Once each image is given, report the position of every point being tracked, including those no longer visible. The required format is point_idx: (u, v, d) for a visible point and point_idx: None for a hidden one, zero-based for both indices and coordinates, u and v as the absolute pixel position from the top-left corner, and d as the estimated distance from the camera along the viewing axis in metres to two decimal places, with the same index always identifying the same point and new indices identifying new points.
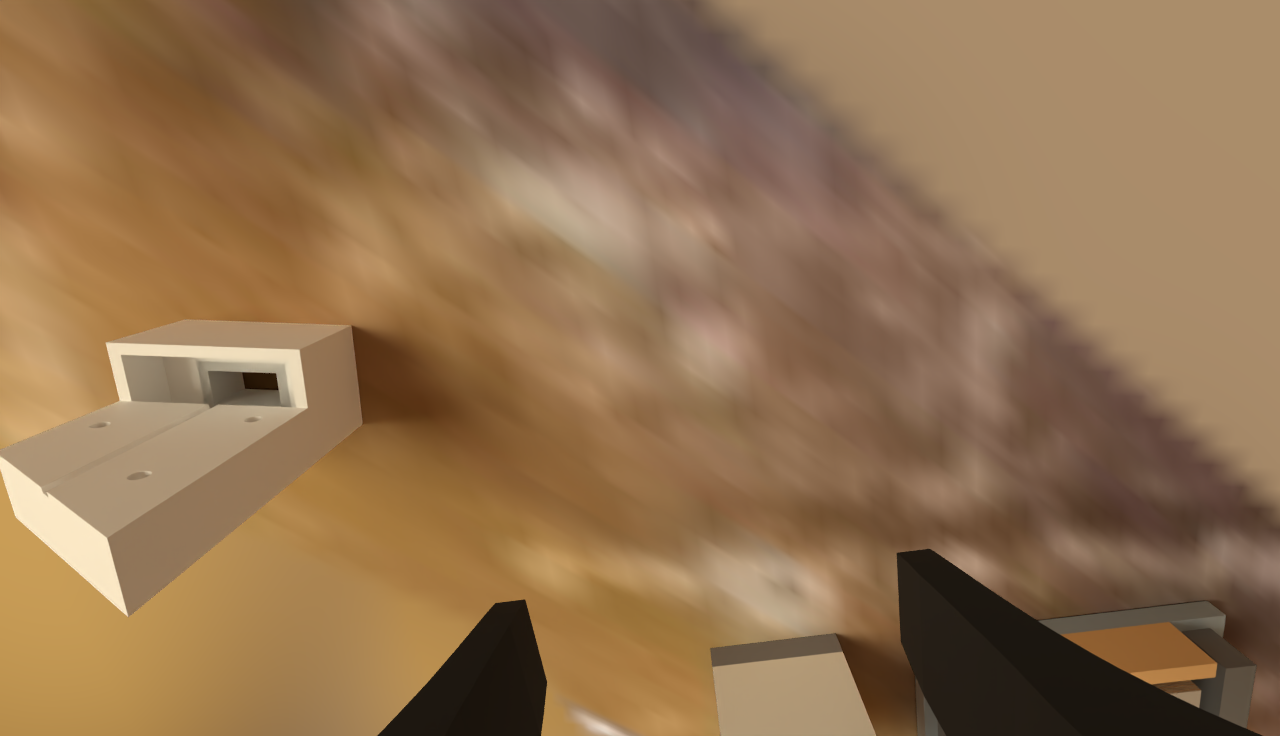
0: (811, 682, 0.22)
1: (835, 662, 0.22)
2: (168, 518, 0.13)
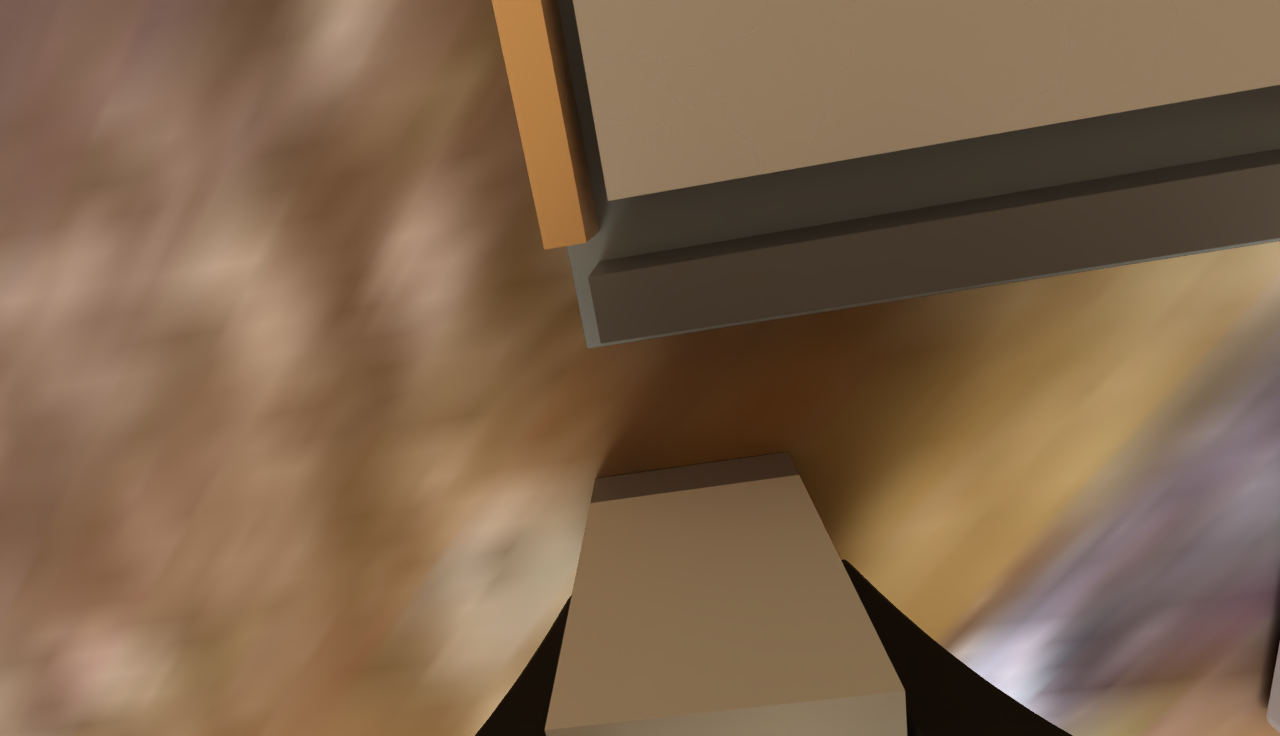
0: None
1: None
2: None
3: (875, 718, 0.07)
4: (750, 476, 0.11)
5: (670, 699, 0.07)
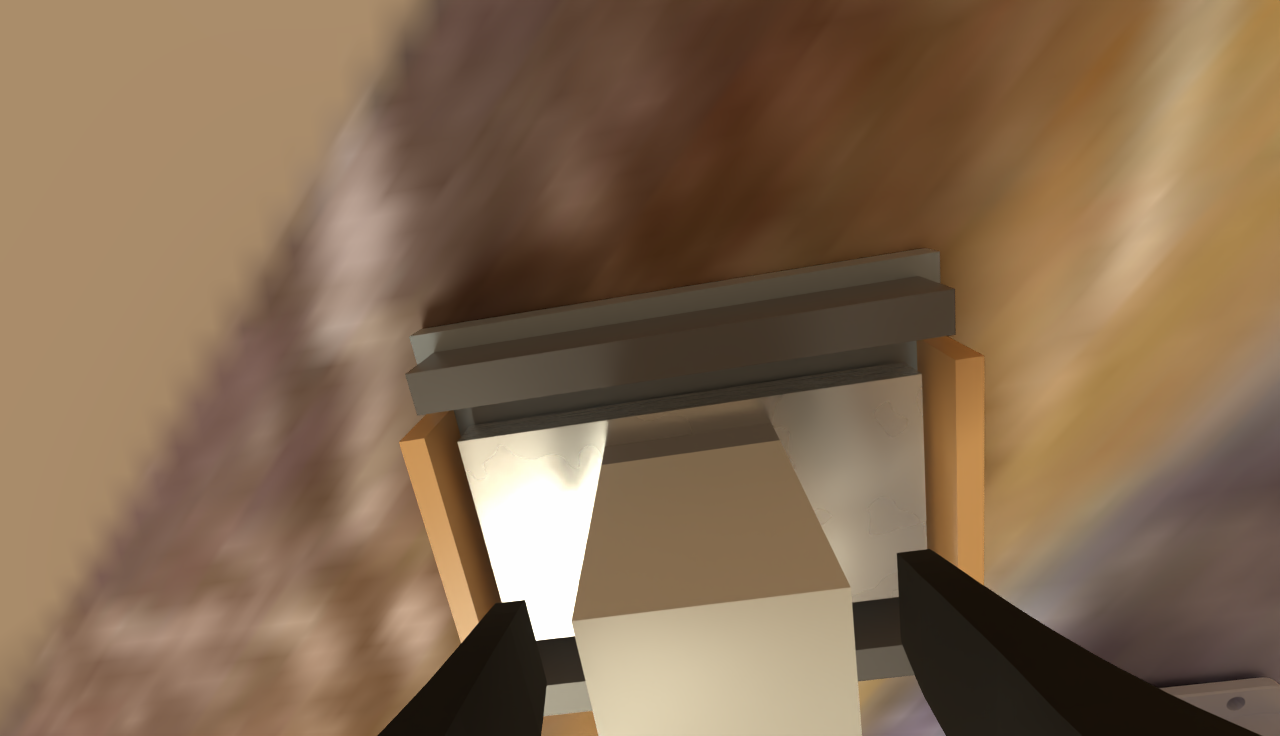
0: None
1: None
2: None
3: (829, 611, 0.08)
4: (738, 442, 0.13)
5: (670, 598, 0.09)
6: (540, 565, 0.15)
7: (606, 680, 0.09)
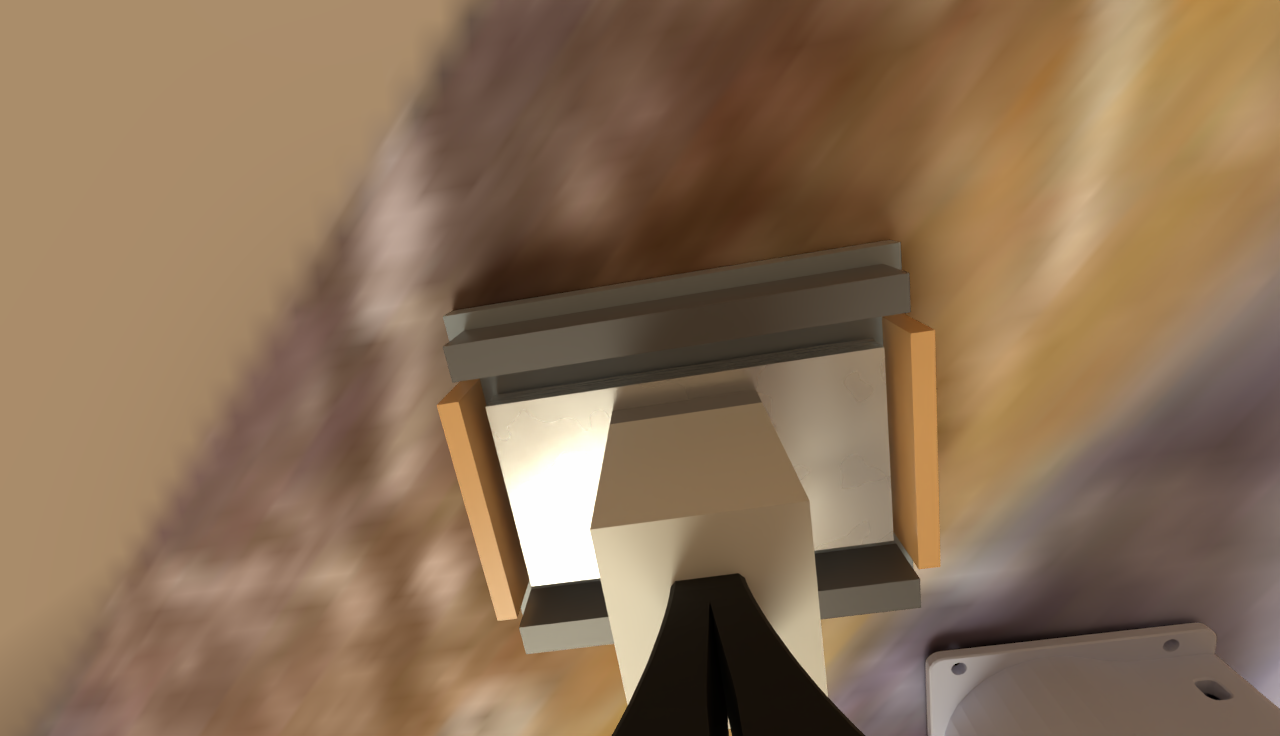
0: None
1: None
2: None
3: (792, 520, 0.11)
4: (727, 404, 0.16)
5: (668, 513, 0.11)
6: (555, 516, 0.18)
7: (617, 579, 0.11)
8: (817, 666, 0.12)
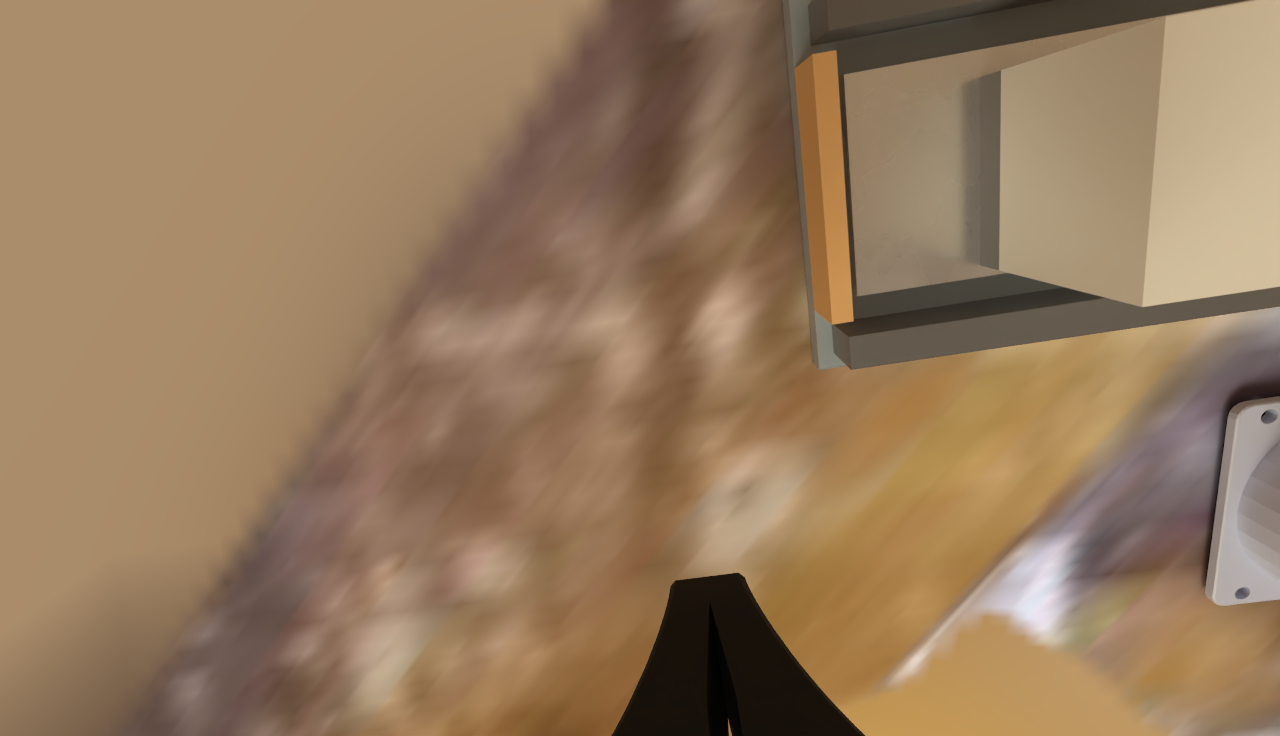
0: (1030, 129, 0.14)
1: (1011, 85, 0.14)
2: None
3: None
4: None
5: (1245, 3, 0.10)
6: (897, 209, 0.17)
7: (1179, 86, 0.10)
8: None
